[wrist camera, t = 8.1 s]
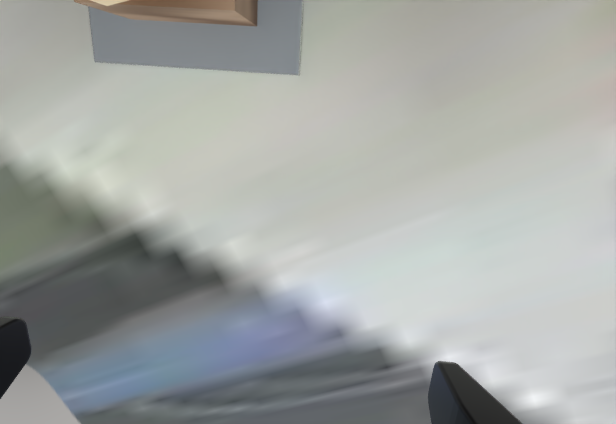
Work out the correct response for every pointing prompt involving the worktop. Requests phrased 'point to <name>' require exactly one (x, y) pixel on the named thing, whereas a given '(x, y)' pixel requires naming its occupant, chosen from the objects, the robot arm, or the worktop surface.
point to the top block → (108, 2)
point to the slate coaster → (204, 41)
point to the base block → (185, 10)
